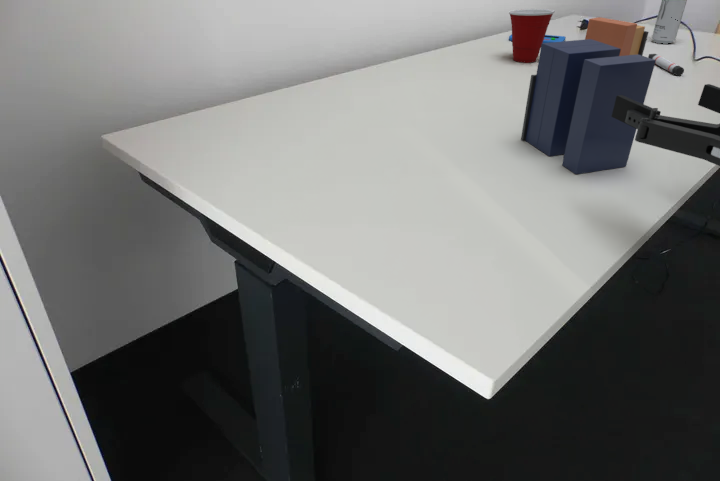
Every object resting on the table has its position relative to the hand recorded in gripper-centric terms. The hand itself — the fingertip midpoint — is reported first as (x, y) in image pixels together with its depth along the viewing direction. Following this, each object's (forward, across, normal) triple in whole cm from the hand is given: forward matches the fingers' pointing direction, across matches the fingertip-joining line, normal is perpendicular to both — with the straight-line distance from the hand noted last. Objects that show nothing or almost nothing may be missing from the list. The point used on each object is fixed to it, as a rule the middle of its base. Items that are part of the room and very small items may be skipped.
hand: (660, 100), depth 69 cm
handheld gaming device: (+86, +39, -13) cm, 96 cm away
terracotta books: (+46, +31, -13) cm, 56 cm away
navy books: (+18, 0, -13) cm, 22 cm away
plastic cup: (+68, +24, -13) cm, 74 cm away
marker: (+51, +52, -14) cm, 74 cm away
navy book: (+9, 0, -13) cm, 16 cm away
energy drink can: (+73, +72, -14) cm, 103 cm away
